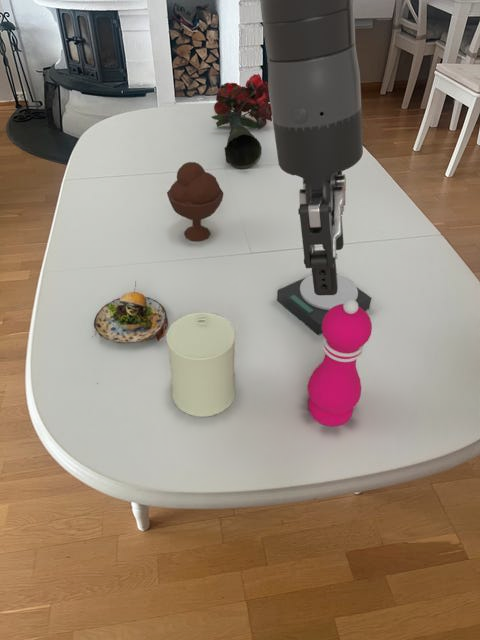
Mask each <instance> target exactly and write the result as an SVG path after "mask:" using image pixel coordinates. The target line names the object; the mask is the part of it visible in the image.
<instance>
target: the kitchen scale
mask: <svg viewBox="0 0 480 640" xmlns="http://www.w3.org/2000/svg"><path fill="white" fill-rule="evenodd" d="M337 284H338V289H337V293H336V294H335V295H316V294H315V292H314V285H313V276H312V274H310V275H308V276H305V277H303V278H301V279H298V280H297V281H294V282H292V283H289V284H288V285H286V286H284V287H280V288H278V289H277V292H276V293H277V294H276V301H277V302H278V303H279V304H280V305H282V306H283V307H284V308H285V309H286V310H287V311H289V312H290V314H292V315H294V317H296V318H297V319H298V320H299V321H301V322H302V323H303V324H304V325H305V326H307V327H308V328H309V329H310V330H311V331H313V332H314V333H315V334H316V335H318V336H319V335H321V334H323V332H322V322H323V319H324V317H325V315H326V313H327V312H328V311H329V310H330V309H331V308H332V307H334V306H336V305H339V304H344V302H345V301H346V300H349V299H353V300H355V301H357V303H358V306H359V307H360V308H362V309H363V310H364V311H367V310H370V307H371V304H372V303H371V302H372V297H371V296H370V295H368V294H367V293H365V292H364V291H363V290H361V289H360V288H358V287H357V286H356V284H355V283H354V282H353V281H352V280H351V279H350V278H348V277H345V276H344V275H341V274H338V273H337Z"/></svg>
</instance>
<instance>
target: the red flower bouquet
mask: <svg viewBox="0 0 480 640" xmlns="http://www.w3.org/2000/svg"><path fill="white" fill-rule="evenodd" d="M215 100H216V102H215V103H214V105H213V110H214V113H215V115H212V116H211V119H213V120H216V122H215V124H216V125H215V126H216V127H217V128H219V127H222V126H224V125H227V124H229V127H230V131H229V135H228V138H227V142H226V146H224V155H225V162H226V163H227V164H229V165H231V166H232V167H233V168H235V169H238V170H247V169H249V168H251V167H253V166H254V165H256V164H257V163H258V162H259V161H260V159H261V157H262V149H263V148H262V145H261V143H260V141H259V140H258V138H256V137H255V135H254V134H252V133H251V132H250V131H249V129H254V130H255V129H257V130H260V129H262V128H264V127H266V125H267V123H268V121H270V122H273V119H272V112H271V104H270V97H269V88H268V81H265V82H264V80H263V78H262V77H261V75H260V73H258V74H256V73H255V74H253V75H251V76H250V77H249V79H248V80H247V81H246V83H245V86H241V85H240V84H238V83H236V82H225V83H224V84H221V85H220V87H219V89H218V91H217V93H216V96H215ZM248 116H250V117H251V118H250V117H248ZM252 118H254V119H255V121H254V120H253V119H252ZM247 128H249V129H247Z"/></svg>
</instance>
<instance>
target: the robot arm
mask: <svg viewBox="0 0 480 640" xmlns="http://www.w3.org/2000/svg"><path fill="white" fill-rule="evenodd" d="M259 3H260V11H261V12H260V13H261V21H262V29H263V35H264V37H263V38H264V43H265V44H264V45H265V50H266V58H267V59H266V60H267V85H268V88H269V91H268V94H269V97H270V98H269V103H270V104H271V112H272V125H273V132H274V139H275V147H276V153H277V161H278V162H277V163H278V166H279V168H280V169H281V170H282V171H283V172H284V173H286V174H287V175H291V176H295V177H296V176H297V177H299V178H301V179H302V188H299V191H298V192H299V193H298V201H299V208H298V209H297V211H298V212H297V213H298V215H299V220H300V221H299V222H300V231H301V239H302V240H301V241H302V249H303V257H304V258H303V264H304V266H305V268H306V269H311V275H312V276H313V285H314V292H315V294H316V295H335V294H336V293H337V289H338V284H337V274H338V273H337V260H338V253H337V251H340V250H343V248H344V243H345V242H344V229H343V215H344V212H345V206H346V194H347V193H346V191H347V190H346V189H347V188H346V187H347V178H346V174H343V172H344V171H346V170H348V169H351V168H352V167H354V166H355V165H357V163H359V161H361V159H362V157H363V153H364V143H363V141H364V140H363V117H362V116H363V115H362V114H363V113H362V91H361V72H360V66H359V60H358V53H357V45H356V21H355V4H354V3H355V0H260V2H259ZM316 245H317V246H319V245H322V249H318V250H317V249H316Z"/></svg>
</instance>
